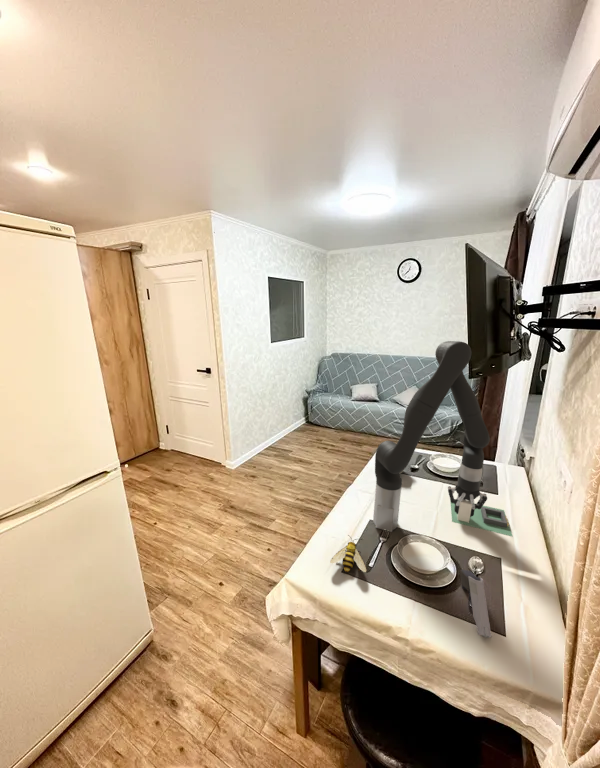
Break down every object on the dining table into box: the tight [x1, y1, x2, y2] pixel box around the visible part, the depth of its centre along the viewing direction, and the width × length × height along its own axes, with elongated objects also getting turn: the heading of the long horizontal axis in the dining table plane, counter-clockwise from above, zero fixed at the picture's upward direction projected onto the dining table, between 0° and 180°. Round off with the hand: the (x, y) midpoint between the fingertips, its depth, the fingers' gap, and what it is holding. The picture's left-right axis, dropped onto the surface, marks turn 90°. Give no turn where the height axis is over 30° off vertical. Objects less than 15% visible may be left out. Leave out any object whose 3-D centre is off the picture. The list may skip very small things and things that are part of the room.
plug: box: [457, 499, 472, 523], centre depth 122 cm, size 5×4×8 cm
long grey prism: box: [459, 569, 492, 638], centre depth 88 cm, size 4×15×12 cm
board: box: [450, 500, 513, 537], centre depth 124 cm, size 16×20×3 cm
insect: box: [330, 534, 367, 574], centre depth 104 cm, size 11×15×5 cm
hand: (463, 514), depth 122 cm, fingers closed on plug, 4 cm apart
